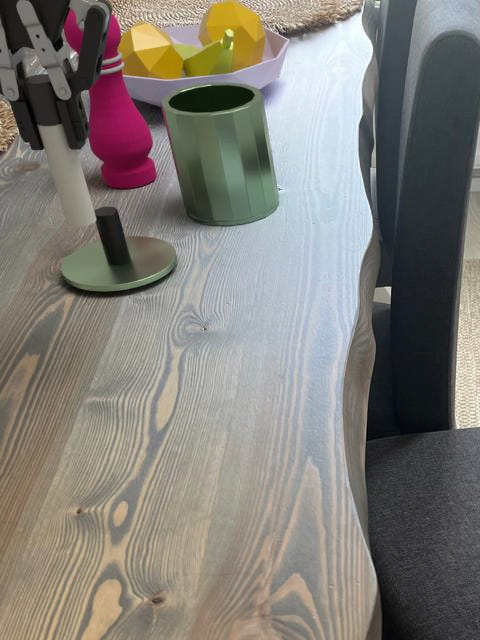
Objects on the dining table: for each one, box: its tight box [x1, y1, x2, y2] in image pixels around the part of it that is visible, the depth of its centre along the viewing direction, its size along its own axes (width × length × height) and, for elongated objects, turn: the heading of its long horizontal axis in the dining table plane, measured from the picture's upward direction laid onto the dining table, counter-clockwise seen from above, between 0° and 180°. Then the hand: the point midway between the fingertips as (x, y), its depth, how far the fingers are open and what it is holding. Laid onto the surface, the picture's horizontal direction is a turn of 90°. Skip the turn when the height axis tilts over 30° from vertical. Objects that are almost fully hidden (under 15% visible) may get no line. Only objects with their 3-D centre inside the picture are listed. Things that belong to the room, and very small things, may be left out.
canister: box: [160, 82, 280, 227], centre depth 112 cm, size 11×11×12 cm
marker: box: [23, 73, 96, 228], centre depth 81 cm, size 2×2×11 cm
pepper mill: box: [63, 8, 158, 190], centre depth 115 cm, size 7×7×20 cm
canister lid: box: [60, 206, 178, 292], centre depth 102 cm, size 12×12×6 cm
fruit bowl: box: [117, 0, 291, 108], centre depth 139 cm, size 28×27×11 cm
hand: (59, 145), depth 81 cm, fingers closed on marker, 2 cm apart
